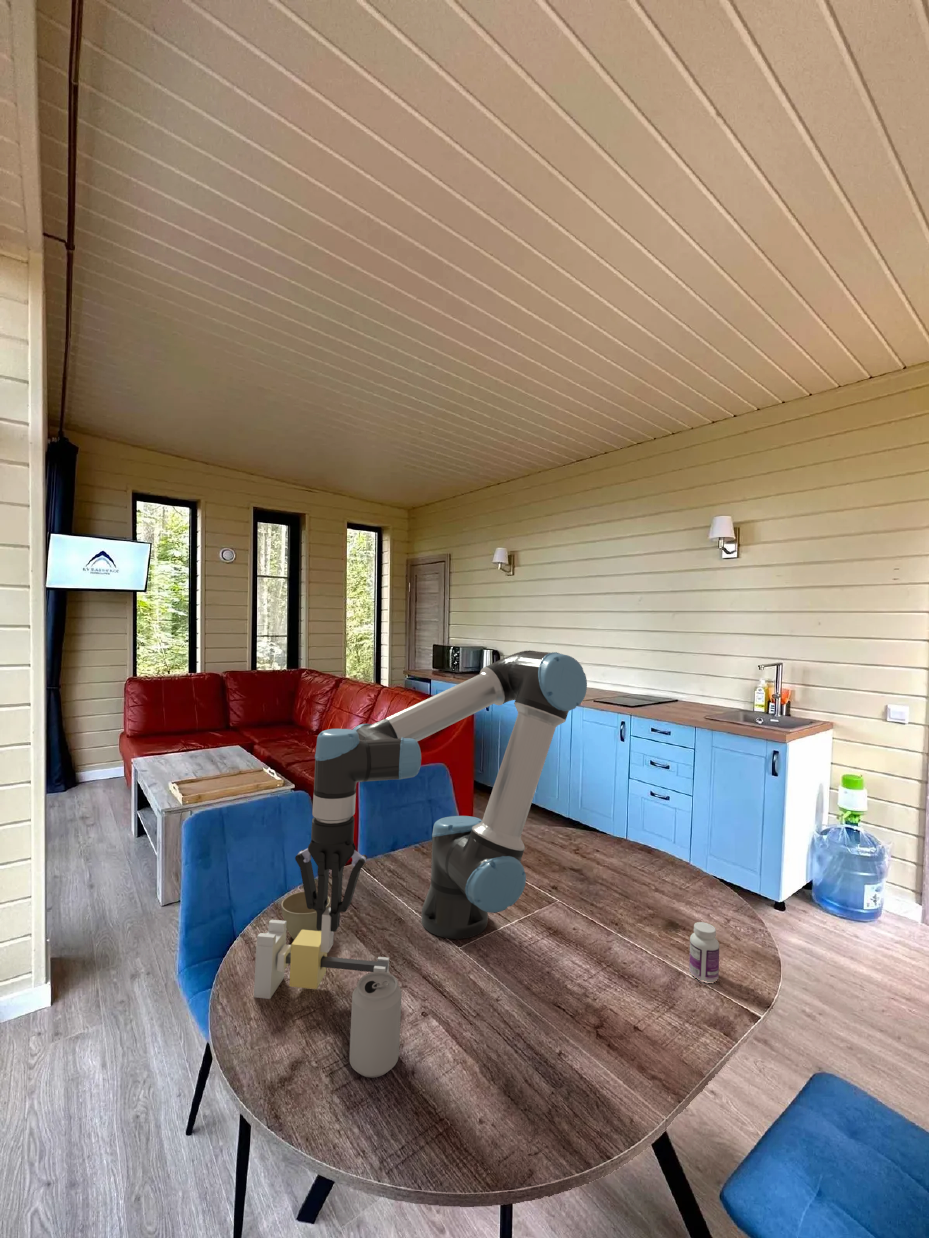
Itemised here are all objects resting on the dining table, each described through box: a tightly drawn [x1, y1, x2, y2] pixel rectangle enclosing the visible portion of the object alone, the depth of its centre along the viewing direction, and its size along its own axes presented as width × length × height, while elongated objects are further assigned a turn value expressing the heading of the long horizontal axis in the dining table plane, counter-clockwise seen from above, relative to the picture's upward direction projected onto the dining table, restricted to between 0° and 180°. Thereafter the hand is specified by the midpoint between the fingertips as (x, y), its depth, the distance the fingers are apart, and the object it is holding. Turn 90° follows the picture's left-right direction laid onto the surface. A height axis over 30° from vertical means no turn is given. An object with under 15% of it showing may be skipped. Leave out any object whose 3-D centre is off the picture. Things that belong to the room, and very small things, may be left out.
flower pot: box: [281, 890, 331, 941], centre depth 116 cm, size 10×10×7 cm
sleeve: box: [288, 930, 328, 990], centre depth 99 cm, size 5×5×7 cm
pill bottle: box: [688, 921, 720, 982], centre depth 108 cm, size 5×5×10 cm
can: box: [348, 971, 403, 1078], centre depth 83 cm, size 8×8×12 cm
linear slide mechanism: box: [253, 919, 390, 1000], centre depth 98 cm, size 23×6×11 cm, turn 85°
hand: (326, 947), depth 98 cm, fingers closed
